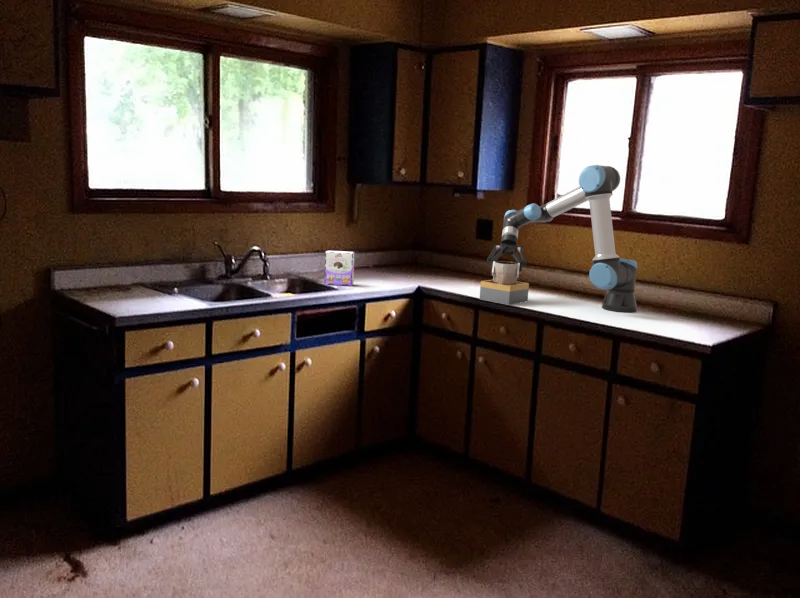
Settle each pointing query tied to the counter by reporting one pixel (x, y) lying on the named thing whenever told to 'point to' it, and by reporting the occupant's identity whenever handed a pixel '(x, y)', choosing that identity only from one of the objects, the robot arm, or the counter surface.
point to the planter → (505, 272)
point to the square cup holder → (504, 292)
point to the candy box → (339, 268)
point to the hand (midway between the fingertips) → (505, 275)
